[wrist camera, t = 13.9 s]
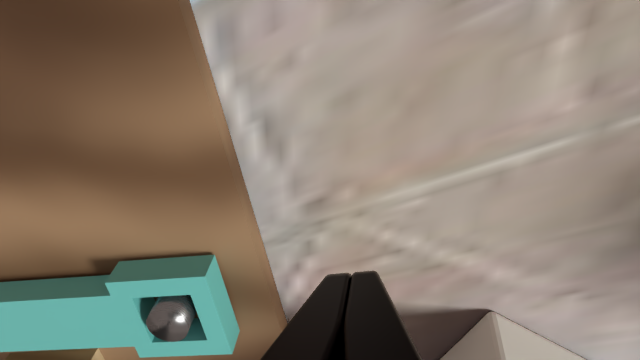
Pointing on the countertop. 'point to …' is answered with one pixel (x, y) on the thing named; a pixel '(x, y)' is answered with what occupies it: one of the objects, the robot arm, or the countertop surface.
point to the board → (122, 158)
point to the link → (119, 309)
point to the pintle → (171, 317)
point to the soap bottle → (505, 343)
